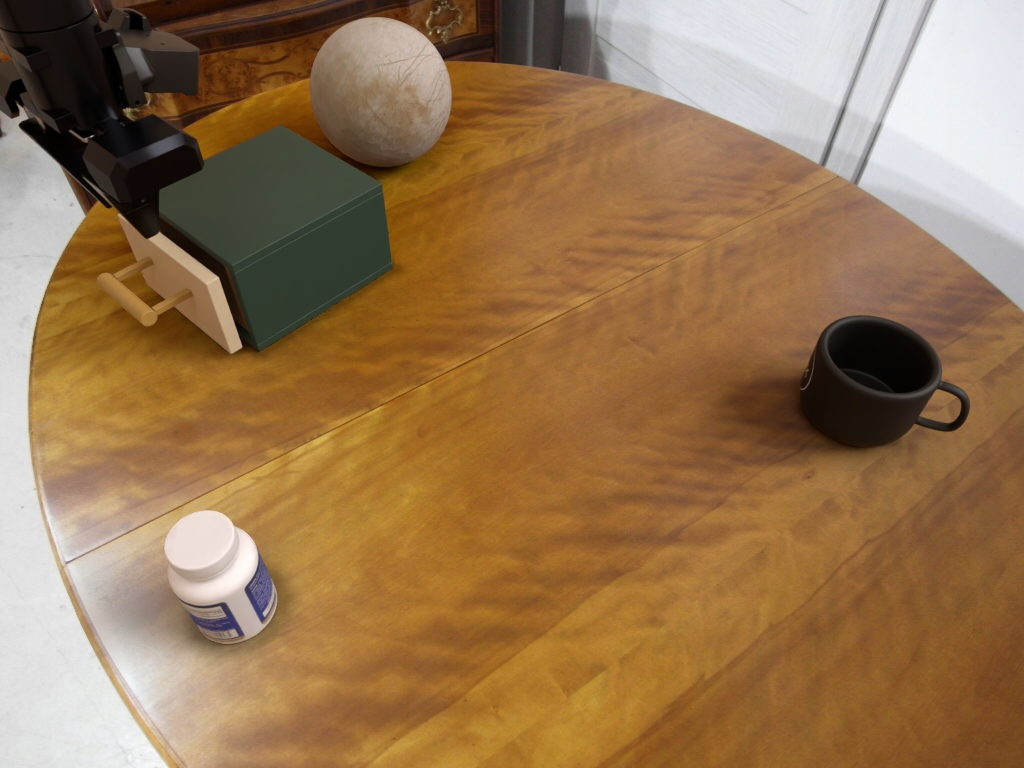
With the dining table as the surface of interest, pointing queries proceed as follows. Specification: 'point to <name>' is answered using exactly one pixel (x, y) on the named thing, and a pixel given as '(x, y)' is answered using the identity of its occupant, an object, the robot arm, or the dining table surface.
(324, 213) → the cabinet
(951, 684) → the dining table surface
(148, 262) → the drawer
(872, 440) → the mug
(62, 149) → the robot arm
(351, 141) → the decorative sphere
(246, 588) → the pill bottle
